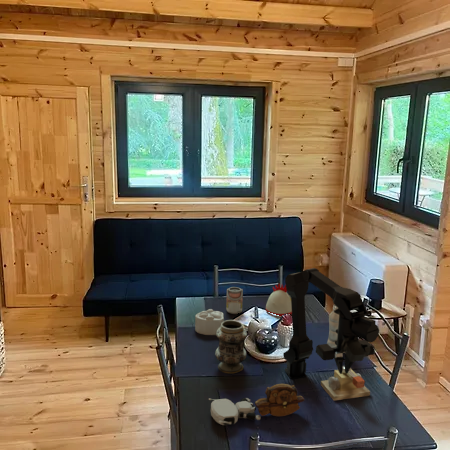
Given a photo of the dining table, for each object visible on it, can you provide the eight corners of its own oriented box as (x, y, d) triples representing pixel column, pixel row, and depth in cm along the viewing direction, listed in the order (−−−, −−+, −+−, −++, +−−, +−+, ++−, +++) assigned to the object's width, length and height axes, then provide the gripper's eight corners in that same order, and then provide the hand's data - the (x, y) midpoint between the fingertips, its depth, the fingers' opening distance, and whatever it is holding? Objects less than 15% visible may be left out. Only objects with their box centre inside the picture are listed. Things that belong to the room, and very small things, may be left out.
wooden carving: (258, 423, 139) (259, 394, 137) (253, 414, 143) (254, 386, 141) (305, 414, 144) (307, 387, 142) (299, 406, 148) (301, 379, 146)
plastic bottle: (343, 354, 183) (347, 309, 179) (326, 352, 185) (329, 307, 181) (342, 347, 190) (346, 303, 185) (326, 345, 191) (329, 302, 187)
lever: (364, 387, 148) (365, 380, 147) (356, 388, 147) (356, 381, 147) (347, 370, 158) (348, 364, 158) (339, 371, 158) (340, 365, 157)
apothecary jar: (252, 367, 172) (253, 324, 168) (231, 379, 163) (232, 334, 160) (229, 356, 180) (230, 315, 176) (208, 367, 171) (209, 324, 168)
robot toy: (248, 405, 150) (205, 409, 145) (249, 392, 149) (207, 396, 144) (261, 427, 138) (216, 433, 134) (263, 414, 137) (217, 419, 133)
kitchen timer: (290, 318, 218) (292, 289, 215) (263, 314, 222) (264, 286, 219) (294, 308, 232) (295, 280, 228) (268, 304, 235) (269, 278, 232)
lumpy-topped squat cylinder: (223, 335, 199) (223, 317, 197) (194, 334, 198) (194, 317, 197) (223, 325, 209) (223, 308, 207) (195, 325, 209) (195, 307, 207)
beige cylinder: (242, 315, 220) (243, 293, 218) (225, 315, 220) (226, 292, 218) (242, 308, 229) (242, 286, 227) (226, 308, 229) (226, 286, 227)
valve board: (333, 400, 151) (335, 383, 150) (320, 384, 161) (321, 368, 160) (369, 395, 155) (371, 378, 154) (354, 380, 164) (356, 363, 163)
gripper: (332, 343, 133) (329, 390, 136) (386, 338, 138) (382, 383, 141) (316, 328, 144) (313, 371, 147) (367, 323, 148) (363, 365, 152)
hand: (343, 373), depth 146 cm, fingers closed
